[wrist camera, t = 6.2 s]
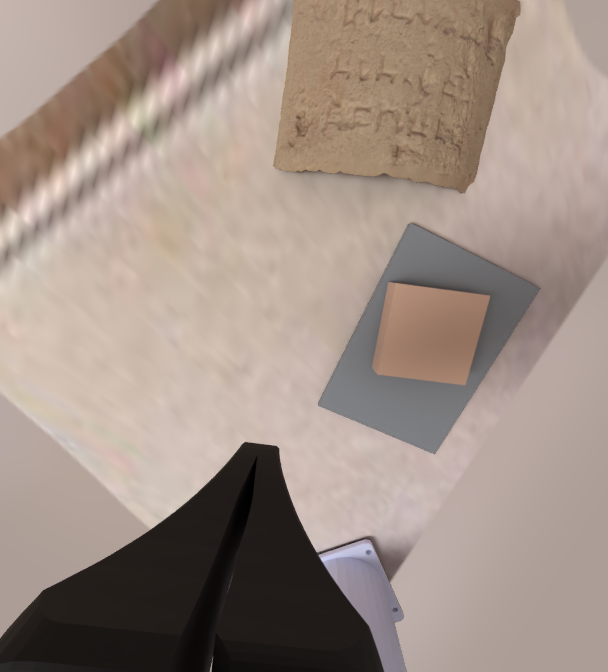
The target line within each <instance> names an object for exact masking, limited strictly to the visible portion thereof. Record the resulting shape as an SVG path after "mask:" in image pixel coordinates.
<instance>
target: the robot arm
mask: <svg viewBox="0 0 608 672" xmlns="http://www.w3.org/2000/svg"><path fill="white" fill-rule="evenodd" d="M232 575H233V576H232ZM230 582H231V583H230ZM229 585H230V586H229ZM228 589H229V590H228ZM403 618H404V615H403V611H402V609H401V607H400V605H399V603H398V600H397V598H396V596H395V593H394V591H393V589H392V587H391V585H390V582H389V580H388V578H387V576H386V573H385V571H384V569H383V567H382V564H381V562H380V560H379V558H378V556H377V553H376V551H375V549H374V547H373V544H372V542H371V541H370V540H368V539H365V540H361V541H358V542H355V543H352V544H349V545H346V546H343V547H340V548H337V549H334V550H331V551H328V552H325V553H322V554H319V555H318V554H317V552H316V550H315V549H314V547H313V545H312V544H311V542H310V540H309V538H308V536H307V534H306V532H305V530H304V528H303V526H302V524H301V522H300V520H299V518H298V515H297V513H296V511H295V508H294V506H293V503H292V501H291V498H290V495H289V492H288V489H287V486H286V483H285V479H284V476H283V472H282V468H281V463H280V456H279V448H278V447H277V446H272V445H264V444H256V443H248V442H245V443H243V444H242V445H241V447H240V448H239V449H238V450H237V452H236V453H235V454H234V455H233V457H232V458H231V459H230V460H229V461H228V462H227V464H226V465H225V466H224V467H223V468H222V469H221V470H220V471H219V472H218V473H217V474H216V475H215V476H214V477H213V478H212V479H211V480H210V481H209V482H208V483H207V484H206V485H205V486H204V487H203V488H202V489H201V490H200V491H199V492H198V493H197V494H196V495H194V496H193V497H192V498H191V499H190V500H189V501H188V502H186V503H185V504H184V505H183V506H181V507H180V508H179V509H178V510H176V511H175V512H174V513H173V514H171V515H170V516H169V517H167V518H166V519H165V520H163V521H162V522H161V523H159V524H158V525H156V526H155V527H154V528H152V529H151V530H149V531H148V532H147V533H145V534H144V535H142V536H141V537H139V538H137V539H136V540H134V541H133V542H131V543H130V544H128V545H126V546H124V547H123V548H121V549H120V550H118V551H116V552H115V553H113V554H111V555H110V556H108V557H106V558H105V559H103V560H101V561H100V562H97V563H96V564H94V565H92V566H90V567H88V568H86V569H84V570H82V571H80V572H78V573H76V574H74V575H72V576H71V577H69V578H67V579H65V580H63V581H61V582H59V583H57V584H55V585H53V586H51V587H49V588H47V589H45V590H43V591H42V592H41V593H40V595H39V596H38V597H37V598H36V599H35V600H34V601H33V602H32V603H31V604H30V605H29V606H28V607H27V608H26V609H25V610H24V611H23V612H22V613H21V615H20V616H19V617H18V618H17V619H16V620H15V621H14V623H13V624H12V625H11V626H10V627H9V628H8V629H7V631H6V632H5V633H4V634H3V636H2V637H1V638H0V672H210V667H211V663H212V658H213V663H212V672H407V670H406V666H405V663H404V659H403V655H402V651H401V647H400V643H399V639H398V635H397V631H396V627H395V624H394V623H395V622H398V621H401V620H402V619H403Z"/></svg>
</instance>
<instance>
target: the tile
mask: <svg viewBox="0 0 608 672" xmlns="http://www.w3.org/2000/svg"><path fill="white" fill-rule="evenodd" d="M489 299H490V296H489V295H482V294H474V293H467V292H459V291H452V290H444V289H437V288H429V287H422V286H414V285H407V284H399V283H392V282H388V286H387V291H386V296H385V301H384V307H383V312H382V317H381V322H380V327H379V332H378V337H377V343H376V348H375V353H374V358H373V363H372V368H373V369H374V371H375V372H376V374H377V375H385V376H393V377H402V378H410V379H418V380H426V381H434V382H442V383H450V384H459V385H466V382H467V378H468V375H469V371H470V367H471V364H472V360H473V357H474V353H475V349H476V346H477V342H478V339H479V335H480V331H481V328H482V324H483V321H484V317H485V313H486V310H487V306H488V303H489Z"/></svg>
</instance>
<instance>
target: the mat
mask: <svg viewBox="0 0 608 672" xmlns="http://www.w3.org/2000/svg"><path fill="white" fill-rule="evenodd" d="M388 282H392V283H399V284H407V285H414V286H422V287H429V288H437V289H444V290H452V291H459V292H467V293H474V294H482V295H489V296H490V299H489V303H488V306H487V310H486V313H485V317H484V321H483V324H482V328H481V331H480V335H479V339H478V342H477V346H476V349H475V353H474V357H473V360H472V364H471V367H470V371H469V375H468V378H467V382H466V385H459V384H450V383H442V382H434V381H426V380H418V379H410V378H402V377H393V376H385V375H377V374H376V372H375V371H374V369H373V368H372V363H373V358H374V353H375V348H376V343H377V337H378V332H379V327H380V322H381V317H382V312H383V307H384V301H385V296H386V291H387V286H388ZM539 290H540V288H539V287H537V286H535V285H533V284H531V283H529V282H527V281H525V280H523V279H521V278H519V277H517V276H515V275H513V274H511V273H509V272H507V271H505V270H503V269H501V268H499V267H497V266H495V265H493V264H491V263H490V262H488V261H486V260H484V259H482V258H480V257H478V256H476V255H474V254H472V253H470V252H468V251H466V250H464V249H462V248H460V247H458V246H456V245H454V244H452V243H450V242H448V241H446V240H444V239H442V238H440V237H438V236H436V235H434V234H432V233H430V232H428V231H426V230H424V229H422V228H420V227H418V226H416V225H414V224H412V223H409V224H408V226H407V228H406V230H405V232H404V234H403V236H402V238H401V240H400V242H399V244H398V246H397V248H396V250H395V252H394V254H393V256H392V258H391V260H390V262H389V264H388V266H387V268H386V269H385V271H384V273H383V275H382V277H381V279H380V281H379V283H378V285H377V287H376V289H375V291H374V293H373V295H372V297H371V299H370V301H369V303H368V305H367V307H366V309H365V311H364V313H363V315H362V317H361V319H360V321H359V323H358V325H357V327H356V329H355V331H354V333H353V335H352V337H351V339H350V341H349V343H348V345H347V347H346V349H345V351H344V353H343V355H342V357H341V359H340V361H339V363H338V365H337V366H336V368H335V370H334V372H333V374H332V376H331V378H330V380H329V382H328V384H327V386H326V388H325V390H324V392H323V394H322V396H321V398H320V400H319V402H318V406H320V407H323V408H325V409H328V410H330V411H332V412H335V413H337V414H339V415H342V416H344V417H347V418H349V419H351V420H354V421H356V422H359V423H361V424H363V425H366V426H368V427H371V428H373V429H375V430H378V431H380V432H383V433H385V434H387V435H390V436H392V437H395V438H397V439H399V440H402V441H404V442H407V443H409V444H411V445H414V446H416V447H419V448H421V449H423V450H426V451H428V452H431V453H433V454H435V453H436V452H437V450H438V448H439V447H440V445H441V444H442V442H443V441H444V439H445V437H446V436H447V434H448V433H449V431H450V430H451V428H452V426H453V425H454V423H455V422H456V420H457V419H458V417H459V415H460V414H461V412H462V411H463V409H464V408H465V406H466V404H467V403H468V401H469V400H470V398H471V397H472V395H473V393H474V392H475V390H476V389H477V387H478V386H479V384H480V382H481V381H482V379H483V378H484V376H485V375H486V373H487V371H488V370H489V368H490V367H491V365H492V364H493V362H494V360H495V359H496V357H497V356H498V354H499V352H500V351H501V349H502V348H503V346H504V345H505V343H506V341H507V340H508V338H509V337H510V335H511V334H512V332H513V330H514V329H515V327H516V326H517V324H518V323H519V321H520V319H521V318H522V316H523V315H524V313H525V312H526V310H527V308H528V307H529V305H530V304H531V302H532V301H533V299H534V297H535V296H536V294H537V293H538V291H539Z"/></svg>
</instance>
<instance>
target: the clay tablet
mask: <svg viewBox="0 0 608 672" xmlns="http://www.w3.org/2000/svg"><path fill="white" fill-rule="evenodd" d="M519 15H520V1H518V0H295V1H294V8H293V20H292V28H291V38H290V44H289V55H288V66H287V73H286V81H285V88H284V93H283V100H282V108H281V120H280V124H279V132H278V138H277V146H276V153H275V158H274V165H273V166H274V167H275V168H276V169H281V170H282V171H290V172H295V171H297V170H298V171H301V172H302V171H303V170H308V171H313V172H315V171H318V170H321V171H323V172H326V173H330V174H332V173H335V174H336V173H337V172H339V171H341V172H343V173H347V174H352V175H361V176H378V175H380V174H382V173H386V174H388V175H389V176H392V177H396V178H404V179H407V178H410V179H411V180H412V181H414V182H416V183H417V182H424V181H425V182H429V183H431V184H433V185H440V186H441V187H445V186H447V187H448V188H450V187H453V189H454V190H455V189H457V188H458V191H459V192H460V193H465V192H466V189H467V188H468V186H469V185H470V184H472V183H473V182H474V179H475V177H476V174H477V169H478V165H479V160H480V154H481V151H482V147H483V144H484V139H485V134H486V129H487V126H488V123H489V120H490V116H491V112H492V108H493V105H494V101H495V96H496V91H497V88H498V84H499V80H500V76H501V72H502V68H503V65H504V62H505V53H506V46H507V43H508V41H509V39H510V37H511V35H512V33H513V30H514V25H515V21H516V17H518V16H519Z"/></svg>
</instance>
